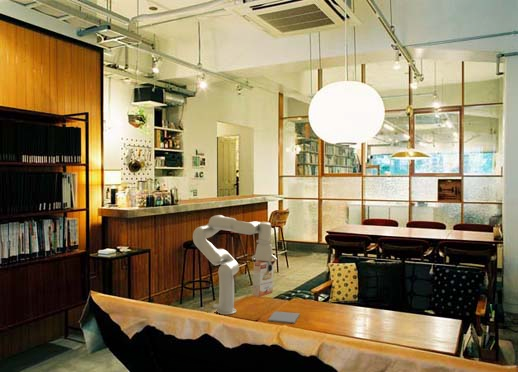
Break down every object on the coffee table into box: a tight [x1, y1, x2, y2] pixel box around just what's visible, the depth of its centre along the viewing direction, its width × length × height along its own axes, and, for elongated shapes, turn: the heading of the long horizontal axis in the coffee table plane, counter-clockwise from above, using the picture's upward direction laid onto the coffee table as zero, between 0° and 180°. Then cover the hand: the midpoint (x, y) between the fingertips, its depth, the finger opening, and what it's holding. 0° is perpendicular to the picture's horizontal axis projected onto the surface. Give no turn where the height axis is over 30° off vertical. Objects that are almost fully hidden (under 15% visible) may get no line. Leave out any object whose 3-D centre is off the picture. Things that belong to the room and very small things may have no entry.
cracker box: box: [252, 259, 275, 298], centre depth 272 cm, size 14×6×21 cm, turn 143°
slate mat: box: [267, 311, 301, 325], centre depth 268 cm, size 16×18×1 cm
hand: (263, 270), depth 272 cm, fingers closed on cracker box, 7 cm apart
